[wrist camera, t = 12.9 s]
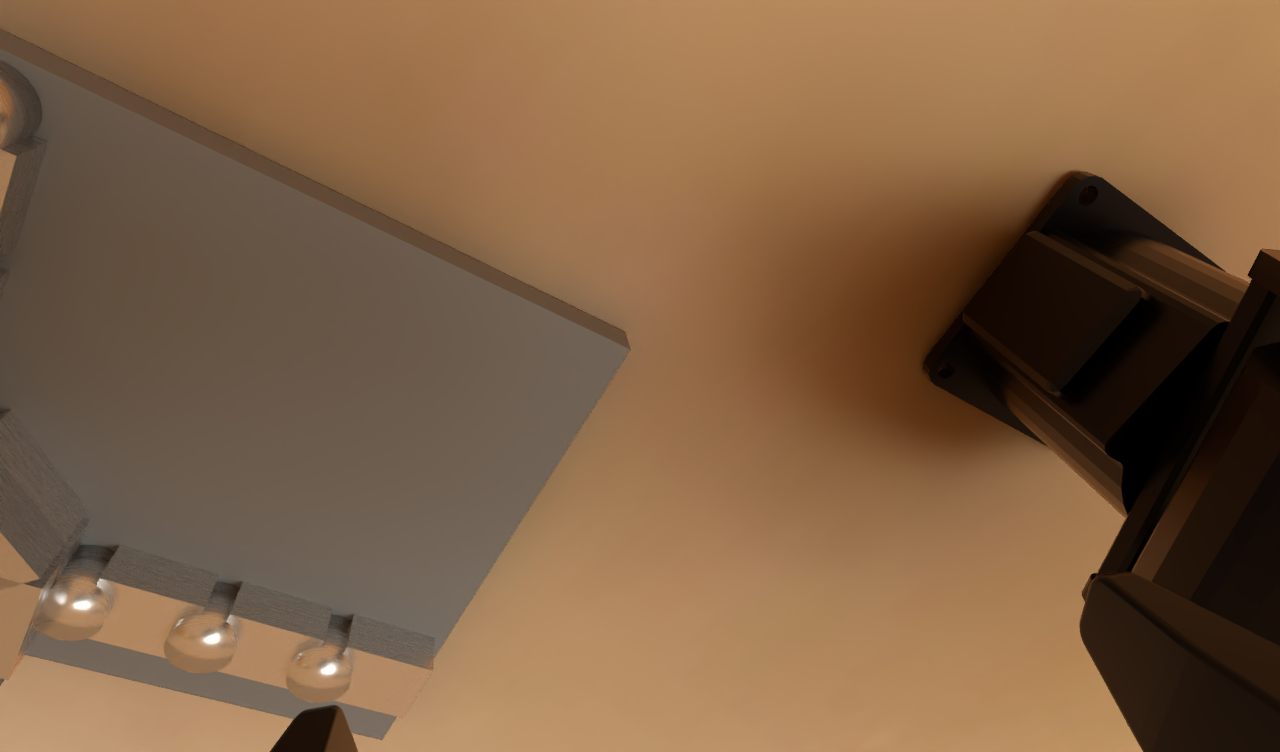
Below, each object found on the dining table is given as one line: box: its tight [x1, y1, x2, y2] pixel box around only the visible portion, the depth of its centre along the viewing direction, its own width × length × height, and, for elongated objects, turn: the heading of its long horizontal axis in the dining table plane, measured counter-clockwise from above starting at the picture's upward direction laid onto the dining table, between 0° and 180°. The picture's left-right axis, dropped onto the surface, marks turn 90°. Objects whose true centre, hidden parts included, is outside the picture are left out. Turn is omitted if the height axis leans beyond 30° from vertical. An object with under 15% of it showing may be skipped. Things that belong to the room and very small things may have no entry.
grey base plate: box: [0, 29, 631, 740], centre depth 20 cm, size 17×15×1 cm
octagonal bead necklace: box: [0, 60, 435, 718], centre depth 18 cm, size 17×15×2 cm
